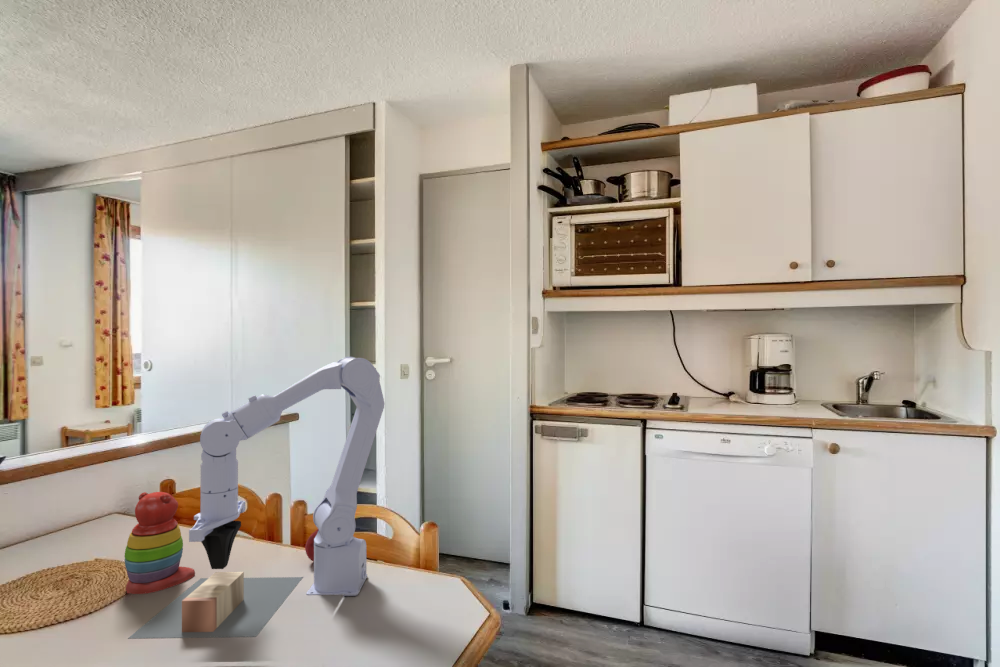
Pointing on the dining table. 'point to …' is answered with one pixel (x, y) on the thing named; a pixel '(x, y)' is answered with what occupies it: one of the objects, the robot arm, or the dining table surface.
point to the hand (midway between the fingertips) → (219, 567)
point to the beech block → (212, 602)
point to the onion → (311, 545)
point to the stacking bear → (155, 546)
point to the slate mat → (242, 622)
